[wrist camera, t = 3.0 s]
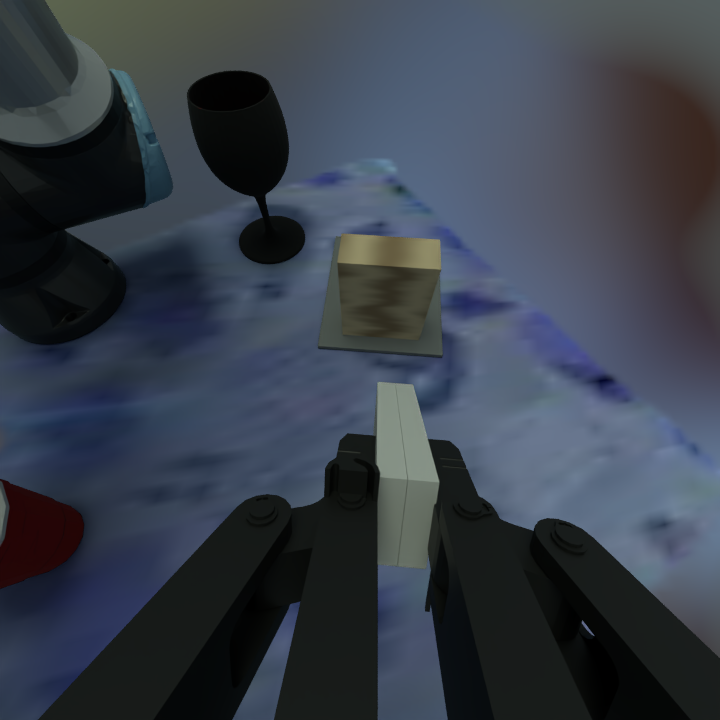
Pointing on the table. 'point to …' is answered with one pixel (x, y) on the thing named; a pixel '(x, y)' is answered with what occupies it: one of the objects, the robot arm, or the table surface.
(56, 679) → the table surface
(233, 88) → the wine glass
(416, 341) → the rubber mat
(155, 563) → the table surface
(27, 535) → the plastic cup
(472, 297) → the table surface
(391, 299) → the oak board
